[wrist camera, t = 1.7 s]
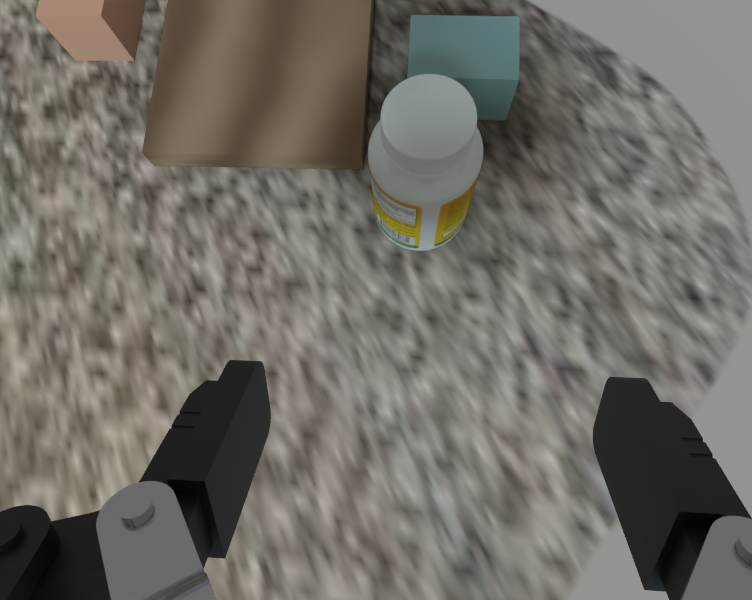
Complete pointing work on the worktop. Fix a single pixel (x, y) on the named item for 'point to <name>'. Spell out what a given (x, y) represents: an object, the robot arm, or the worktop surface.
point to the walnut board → (262, 84)
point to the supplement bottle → (424, 161)
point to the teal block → (470, 56)
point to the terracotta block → (94, 27)
